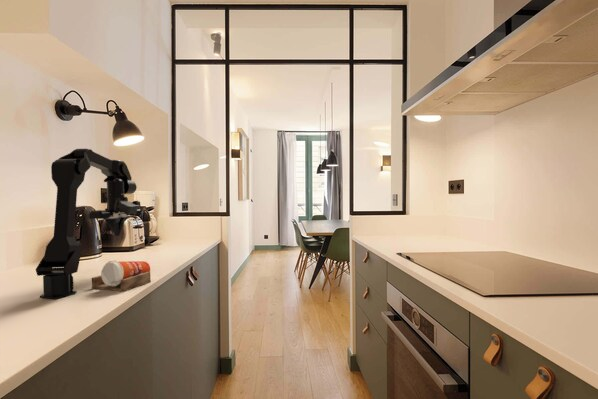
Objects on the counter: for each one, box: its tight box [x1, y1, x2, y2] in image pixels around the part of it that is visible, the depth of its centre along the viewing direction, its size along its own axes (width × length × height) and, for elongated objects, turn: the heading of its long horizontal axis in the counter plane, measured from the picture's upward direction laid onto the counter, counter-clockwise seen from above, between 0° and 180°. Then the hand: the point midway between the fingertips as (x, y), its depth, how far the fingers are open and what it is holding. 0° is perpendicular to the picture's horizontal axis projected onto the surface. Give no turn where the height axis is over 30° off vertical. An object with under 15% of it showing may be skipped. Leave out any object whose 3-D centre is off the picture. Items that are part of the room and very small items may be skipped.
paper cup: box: [100, 260, 151, 286], centre depth 111 cm, size 8×8×14 cm
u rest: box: [91, 271, 151, 292], centre depth 110 cm, size 11×12×3 cm
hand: (117, 236), depth 131 cm, fingers closed
